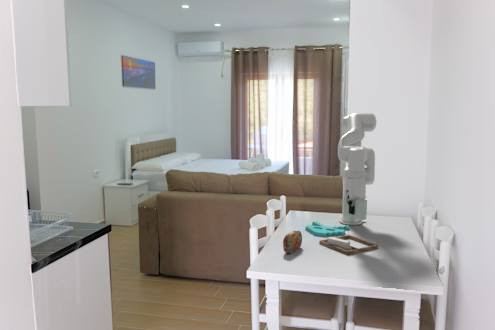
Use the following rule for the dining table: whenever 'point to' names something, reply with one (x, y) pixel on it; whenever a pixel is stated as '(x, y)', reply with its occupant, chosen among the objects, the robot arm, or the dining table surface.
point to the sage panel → (356, 209)
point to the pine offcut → (344, 248)
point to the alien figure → (326, 229)
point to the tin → (292, 241)
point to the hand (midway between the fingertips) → (354, 213)
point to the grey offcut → (339, 242)
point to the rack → (354, 250)
